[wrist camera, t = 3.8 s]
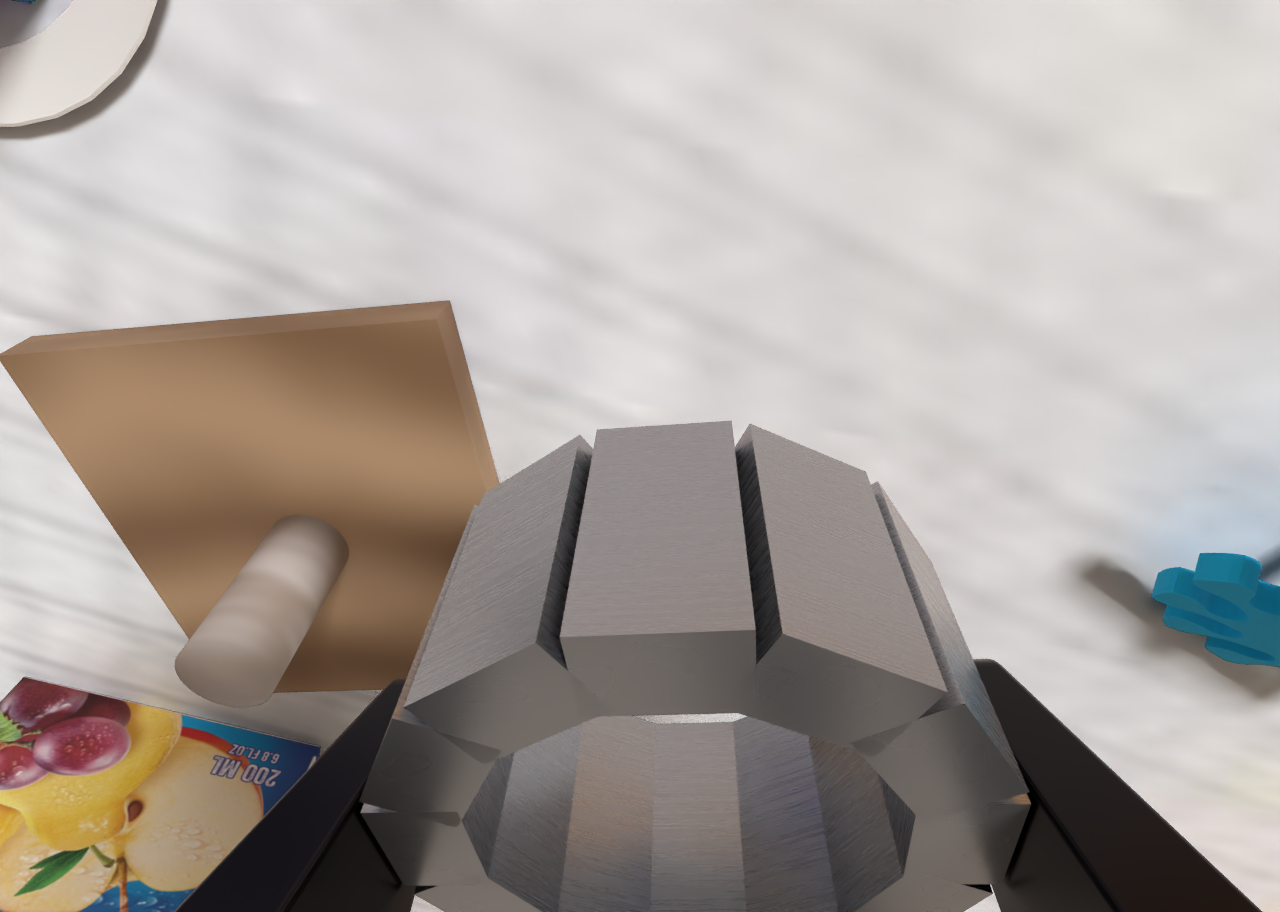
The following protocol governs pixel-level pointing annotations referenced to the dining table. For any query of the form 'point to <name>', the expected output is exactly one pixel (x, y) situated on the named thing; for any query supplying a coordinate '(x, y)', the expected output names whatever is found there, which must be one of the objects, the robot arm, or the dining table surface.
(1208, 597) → the gear
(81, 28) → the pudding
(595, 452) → the hub ring
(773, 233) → the dining table surface
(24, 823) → the juice carton
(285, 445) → the shaft stand
